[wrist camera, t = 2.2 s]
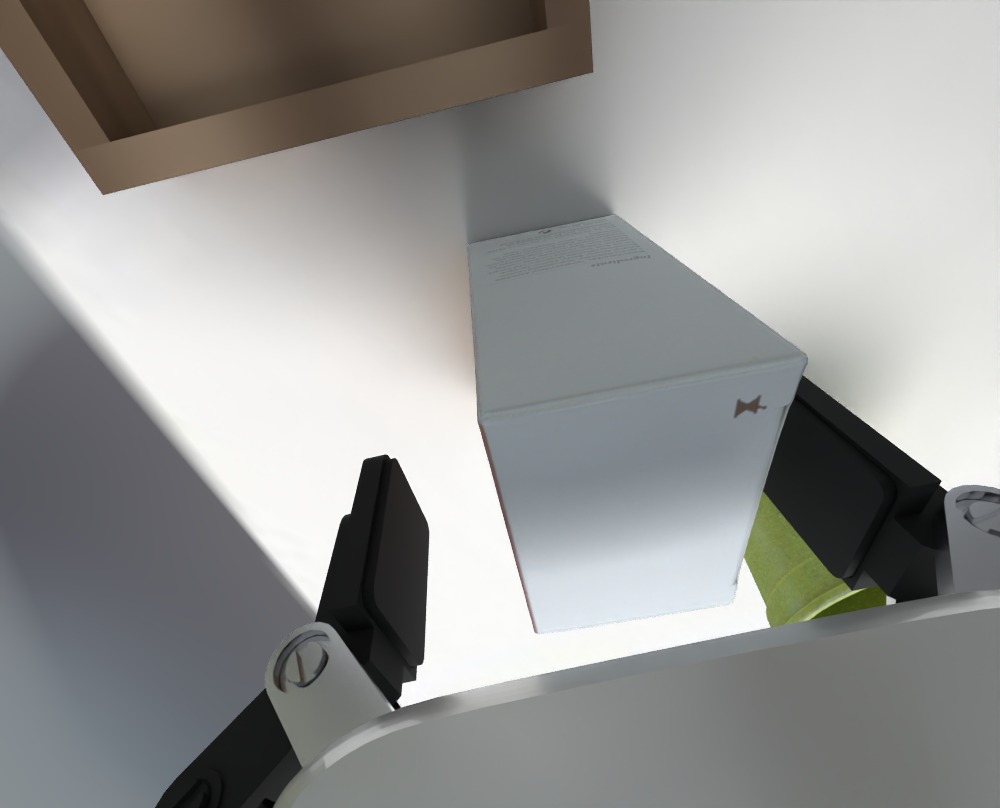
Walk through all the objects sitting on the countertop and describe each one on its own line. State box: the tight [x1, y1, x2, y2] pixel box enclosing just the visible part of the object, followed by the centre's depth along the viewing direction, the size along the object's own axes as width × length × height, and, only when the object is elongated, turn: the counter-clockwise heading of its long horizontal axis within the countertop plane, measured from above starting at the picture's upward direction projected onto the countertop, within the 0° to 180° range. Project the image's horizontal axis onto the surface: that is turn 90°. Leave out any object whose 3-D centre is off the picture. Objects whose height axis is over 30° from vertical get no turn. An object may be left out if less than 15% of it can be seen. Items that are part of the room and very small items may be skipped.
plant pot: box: [744, 491, 886, 627], centre depth 20 cm, size 9×9×9 cm
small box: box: [468, 214, 808, 634], centre depth 13 cm, size 8×6×10 cm
